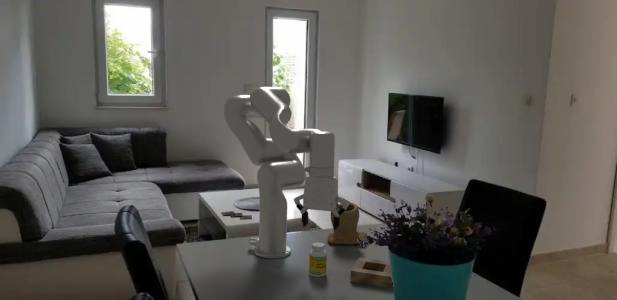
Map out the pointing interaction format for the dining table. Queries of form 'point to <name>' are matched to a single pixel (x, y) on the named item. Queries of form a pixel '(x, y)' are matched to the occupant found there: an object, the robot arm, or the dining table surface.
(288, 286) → the dining table surface
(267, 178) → the robot arm
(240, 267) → the dining table surface
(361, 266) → the bottle holder
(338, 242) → the brown hollow tube piece
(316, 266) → the supplement bottle
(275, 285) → the dining table surface
